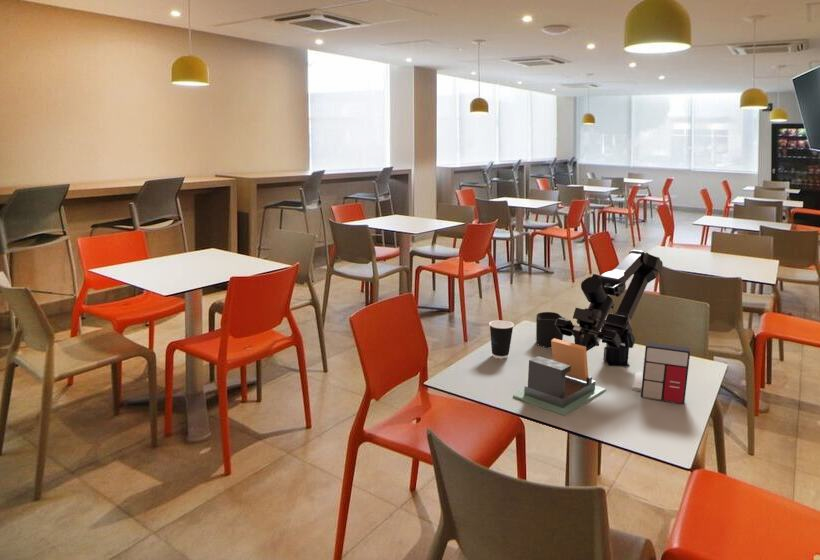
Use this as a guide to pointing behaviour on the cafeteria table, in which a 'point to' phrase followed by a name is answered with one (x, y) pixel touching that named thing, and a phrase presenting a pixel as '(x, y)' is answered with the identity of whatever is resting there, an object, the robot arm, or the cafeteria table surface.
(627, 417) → the cafeteria table surface
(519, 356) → the cafeteria table surface
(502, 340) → the dixie cup
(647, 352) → the panelled box
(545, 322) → the pen holder
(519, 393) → the green flat slab
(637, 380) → the external hard drive
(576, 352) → the orange upright panel
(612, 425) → the cafeteria table surface
